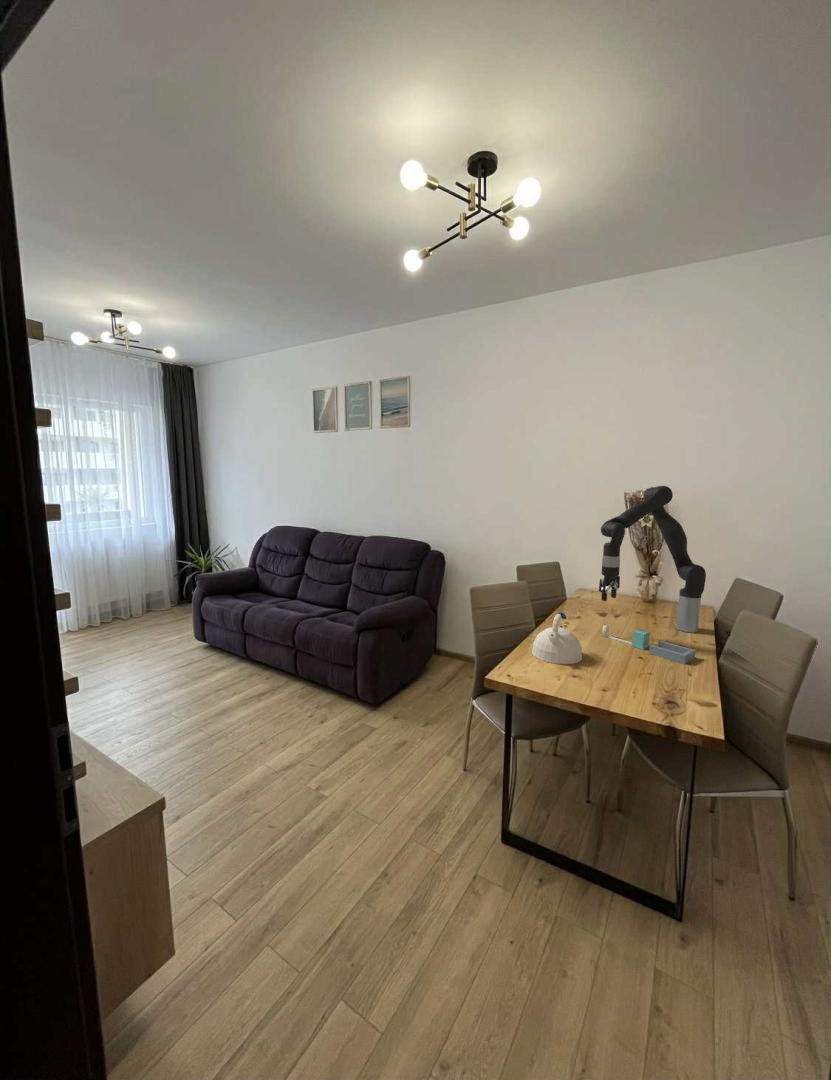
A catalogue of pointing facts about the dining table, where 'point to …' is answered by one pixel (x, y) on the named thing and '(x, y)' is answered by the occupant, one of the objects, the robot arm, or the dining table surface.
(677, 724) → the dining table surface
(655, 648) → the lane
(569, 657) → the kettle
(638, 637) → the tethered block
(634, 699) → the dining table surface
